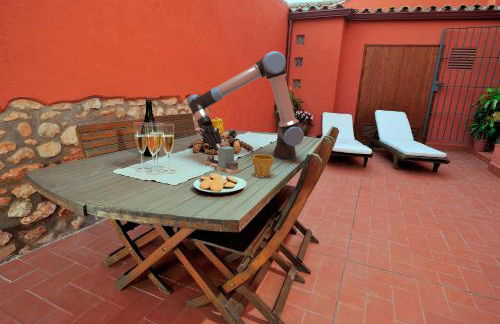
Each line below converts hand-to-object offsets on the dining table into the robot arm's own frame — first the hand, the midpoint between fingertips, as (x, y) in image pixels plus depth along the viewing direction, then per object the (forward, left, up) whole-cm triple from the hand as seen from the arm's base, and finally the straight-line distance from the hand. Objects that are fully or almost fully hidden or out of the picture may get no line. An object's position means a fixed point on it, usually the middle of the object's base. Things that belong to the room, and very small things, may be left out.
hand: (221, 155), depth 150 cm
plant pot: (-23, +2, -7) cm, 24 cm away
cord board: (0, 0, -7) cm, 7 cm away
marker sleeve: (-3, +1, -5) cm, 6 cm away
